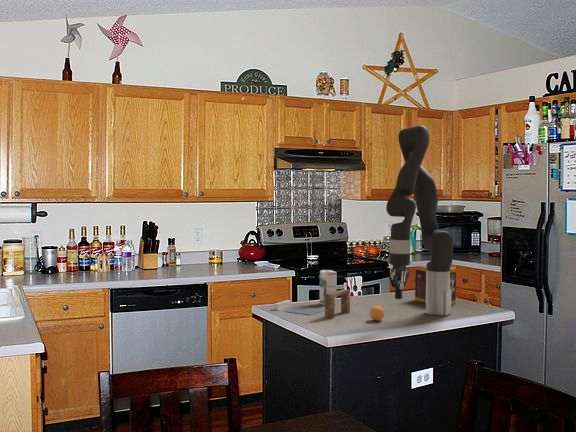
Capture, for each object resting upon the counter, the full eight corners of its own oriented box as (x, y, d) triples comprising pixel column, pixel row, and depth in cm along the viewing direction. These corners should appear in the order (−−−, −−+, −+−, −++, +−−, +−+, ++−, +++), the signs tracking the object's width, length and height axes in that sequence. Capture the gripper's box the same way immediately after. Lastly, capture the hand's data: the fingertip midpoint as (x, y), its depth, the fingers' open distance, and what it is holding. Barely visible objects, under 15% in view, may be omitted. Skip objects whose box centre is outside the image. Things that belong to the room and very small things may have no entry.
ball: (386, 320, 233) (386, 305, 232) (380, 322, 228) (380, 308, 228) (373, 318, 236) (373, 304, 235) (367, 320, 231) (367, 306, 231)
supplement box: (437, 306, 262) (438, 269, 261) (414, 300, 275) (415, 265, 275) (456, 303, 267) (456, 268, 266) (432, 298, 280) (433, 264, 280)
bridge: (349, 312, 247) (350, 289, 246) (331, 318, 235) (331, 295, 234) (343, 311, 248) (343, 289, 248) (324, 318, 236) (325, 294, 236)
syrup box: (318, 303, 266) (319, 270, 266) (331, 302, 268) (331, 269, 268) (324, 305, 261) (324, 271, 260) (336, 305, 263) (337, 271, 262)
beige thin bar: (291, 306, 260) (291, 300, 259) (278, 310, 251) (278, 304, 251) (287, 305, 261) (287, 300, 261) (274, 309, 252) (274, 303, 252)
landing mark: (325, 310, 251) (325, 309, 251) (310, 315, 241) (310, 314, 241) (301, 307, 258) (301, 306, 258) (284, 311, 248) (284, 311, 248)
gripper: (401, 253, 218) (400, 302, 219) (416, 251, 229) (415, 297, 230) (382, 252, 223) (381, 299, 223) (398, 250, 233) (397, 295, 234)
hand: (398, 298), depth 226 cm, fingers closed
